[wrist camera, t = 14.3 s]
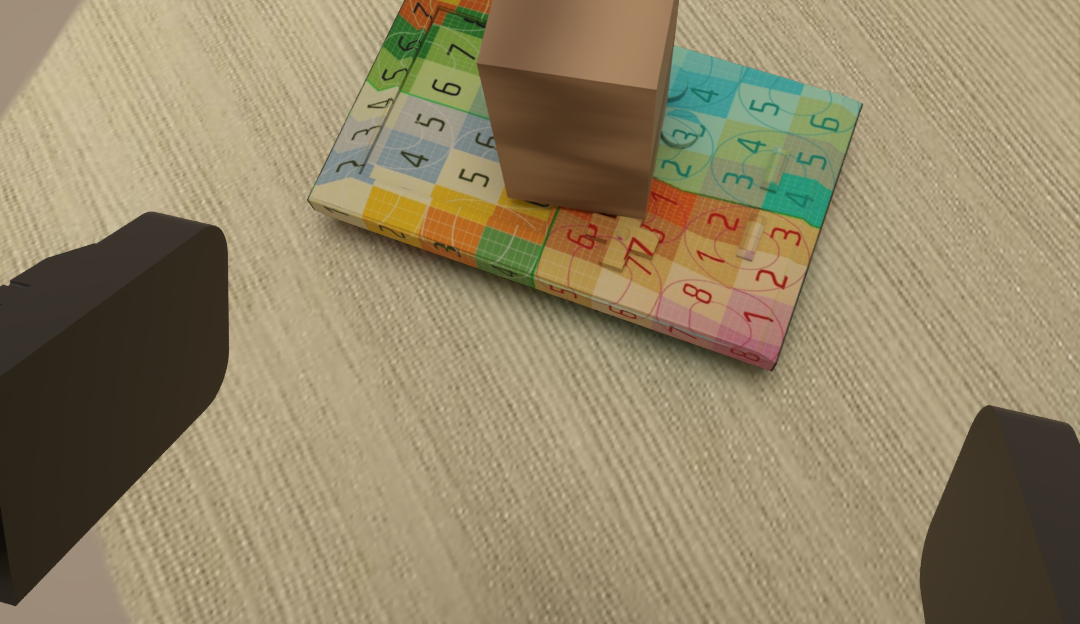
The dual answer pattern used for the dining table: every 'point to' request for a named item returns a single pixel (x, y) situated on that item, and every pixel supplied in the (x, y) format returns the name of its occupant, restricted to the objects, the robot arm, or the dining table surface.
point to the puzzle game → (591, 237)
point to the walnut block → (578, 98)
